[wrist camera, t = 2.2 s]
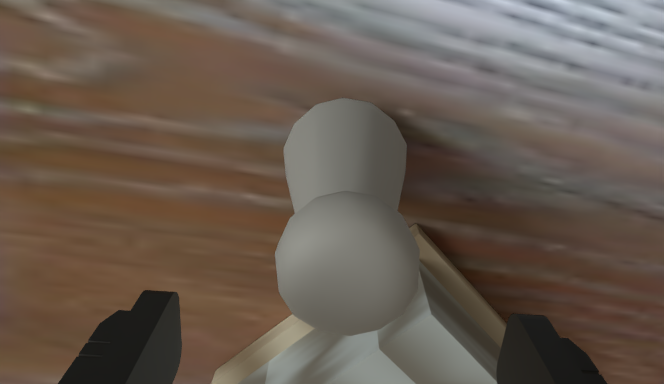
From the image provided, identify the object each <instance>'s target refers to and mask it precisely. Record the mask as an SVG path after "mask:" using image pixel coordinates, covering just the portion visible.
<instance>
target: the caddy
mask: <svg viewBox="0 0 664 384" xmlns="http://www.w3.org/2000/svg"><path fill="white" fill-rule="evenodd" d="M409 229H410V231H411V233H412V235H413V236H414V238H415V240H416V242H417V245H418V247H419V249H420V256H419V277H418V290H417V292H416V294H415V295H414V297H413V299H412V301H411V302H410V304H409V306H408V307H407V309H406V311H405V313H404V314H403V315H401V316H400V317H398V318H397V319H395V320H393V321H392V322H390V323H389V324H387V325H386V326H384V327H383V328H381V329H380V330H376V331H371V332H367V333H362V334H357V335H353V336H345V335H340V334H334V333H328V332H322V331H319V330H317V329H315V328H314V327H312V326H310V325H308V324H307V323H305V322H303V321H302V320H300V319H298V318H297V317H295V316H294V315H293V314H292V315H290V316H289V317H288V318H286V319H285V320H284V321H282V322H281V323H279V324H278V325H277V326H275V327H274V328H273V329H271V330H270V331H269V332H267V333H266V334H265V335H263V336H262V337H260V338H259V339H258V340H256V341H255V342H254V343H252V344H251V345H250V346H248V347H247V348H245V349H244V350H243V351H241V352H240V353H239V354H237V355H236V356H235V357H233V358H232V359H231V360H229V361H228V362H226V363H225V364H224V365H222V366H221V367H220V368H218V369H217V370H216V371H215V374H214V377H213V381H212V384H497V377H496V369H497V362H498V358H499V354H500V350H501V346H502V342H503V338H504V334H505V330H506V326H507V323H506V322H505V321H504V320H503V319H502V318H501V317H500V316H499V315H498V313H497V312H496V311H495V310H494V309H493V308H492V307H491V306H490V305H489V303H488V302H487V301H486V300H485V299H484V298H483V297H482V296H481V295H480V294H479V292H478V291H477V290H476V289H475V288H474V287H473V286H472V285H471V284H470V282H469V281H468V280H467V279H466V278H465V277H464V276H463V275H462V274H461V273H460V271H459V270H458V269H457V268H456V267H455V266H454V265H453V264H452V263H451V261H450V260H449V259H448V258H447V257H446V256H445V255H444V254H443V253H442V252H441V250H440V249H439V248H438V247H437V246H436V245H435V244H434V243H433V242H432V240H431V239H430V238H429V237H428V236H427V235H426V234H425V233H424V232H423V231H422V229H421V228H420V227H419V226H418V225H417V224H416V223H415V224H414V225H413V226H411V227H410V228H409Z"/></svg>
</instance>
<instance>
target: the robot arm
mask: <svg viewBox="0 0 664 384" xmlns="http://www.w3.org/2000/svg"><path fill="white" fill-rule="evenodd" d="M181 349H182V341H181V324H180V306H179V296H178V293H177V292H167V291H151V290H145V291H143V292H142V294H141V295H140V297H139V298H138V300H137V301H136V303H135V305H134V306H133V308H132V309H131V311H124V310H118V311H117V312H115V313H114V314H112V315H111V316H110V317H108V318H107V319H105V320H104V321H103V322H101V323H100V324H99V325H98V327H97V328H96V330H95V331H94V333H93V334H92V336H91V337H90V338H89V341H88V343H86V344H85V346H84V347H83V348H82V350H81V351H80V353H79V357H76V358H75V360H74V361H73V363H72V364H71V366H70V367H69V368H68V370H67V371H66V373H65V374H64V376H63V377H62V379H61V380H60V381H59V383H58V384H172V383H173V380H174V378H175V375H176V373H177V370H178V367H179V363H180V358H181ZM598 372H599V371H598V369H597V368H596V367H595V365H594V364H593V362H592V361H591V359H590V358H589V356H588V355H587V354H586V353H585V352H584V351H583V350H581V349H580V348H579V347H578V346H577V345H575V344H574V343H573V342H572V341H570V340H569V339H568V338H560V337H559V335H558V334H557V332H556V331H555V329H554V328H553V326H552V324H551V323H550V321H549V320H548V318H547V317H545V316H543V315H526V314H511V315H510V317H509V319H508V322H507V326H506V330H505V334H504V338H503V342H502V346H501V350H500V354H499V358H498V362H497V369H496V377H497V384H607V383H606V381H605V380H604V378H603V377H602V375H600V374H599V373H598Z"/></svg>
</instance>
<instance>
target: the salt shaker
mask: <svg viewBox="0 0 664 384" xmlns="http://www.w3.org/2000/svg"><path fill="white" fill-rule="evenodd" d="M406 153H407V144H406V142H405V140H404V138H403V136H402V135H401V133H400V131H399V129H398V127H397V125H396V123H395V121H394V120H393V119H391V118H390V117H389V116H388V115H386V114H385V113H384V112H382V111H381V110H380V109H379V108H377V107H376V106H375V105H374V104H372V103H371V102H365V101H359V100H353V99H347V98H340V99H336V100H332V101H328V102H324V103H320V104H316V105H315V106H314V107H313V108H312V109H311V110H310V111H308V112H307V113H306V114H305V115H304V116H303V117H302V118H300V119H299V120H298V121H297V122H296V123H295V124H294V125H293V128H292V130H291V132H290V135H289V137H288V140H287V142H286V144H285V147H284V160H285V172H286V178H287V182H288V186H289V191H290V195H291V199H292V203H293V207H294V211H295V214H294V215H293V216H292V217H291V218H290V219H289V222H288V224H287V226H286V228H285V230H284V232H283V235H282V237H281V239H280V241H279V243H278V246H277V249H276V252H275V259H276V269H277V278H278V287H279V294H280V295H281V297H282V298H283V300H284V301H285V303H286V304H287V306H288V307H289V309H290V310H291V312H292V313H293V315H294V316H295V317H297V318H298V319H300V320H302V321H303V322H305V323H307V324H308V325H310V326H312V327H314V328H315V329H317V330H319V331H322V332H328V333H334V334H340V335H345V336H353V335H357V334H362V333H367V332H371V331H376V330H380V329H381V328H383V327H384V326H386V325H387V324H389V323H390V322H392V321H393V320H395V319H397V318H398V317H400V316H401V315H403V314H404V313H405V311H406V309H407V307H408V306H409V304H410V302H411V301H412V299H413V297H414V295H415V294H416V292H417V290H418V277H419V256H420V249H419V247H418V245H417V242H416V240H415V238H414V236H413V235H412V233H411V231H410V229H409V227H408V225H407V223H406V222H405V220H404V218H403V216H402V214H400V213H399V212H397V211H398V206H399V201H400V196H401V191H402V187H403V182H404V177H405V172H406Z"/></svg>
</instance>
